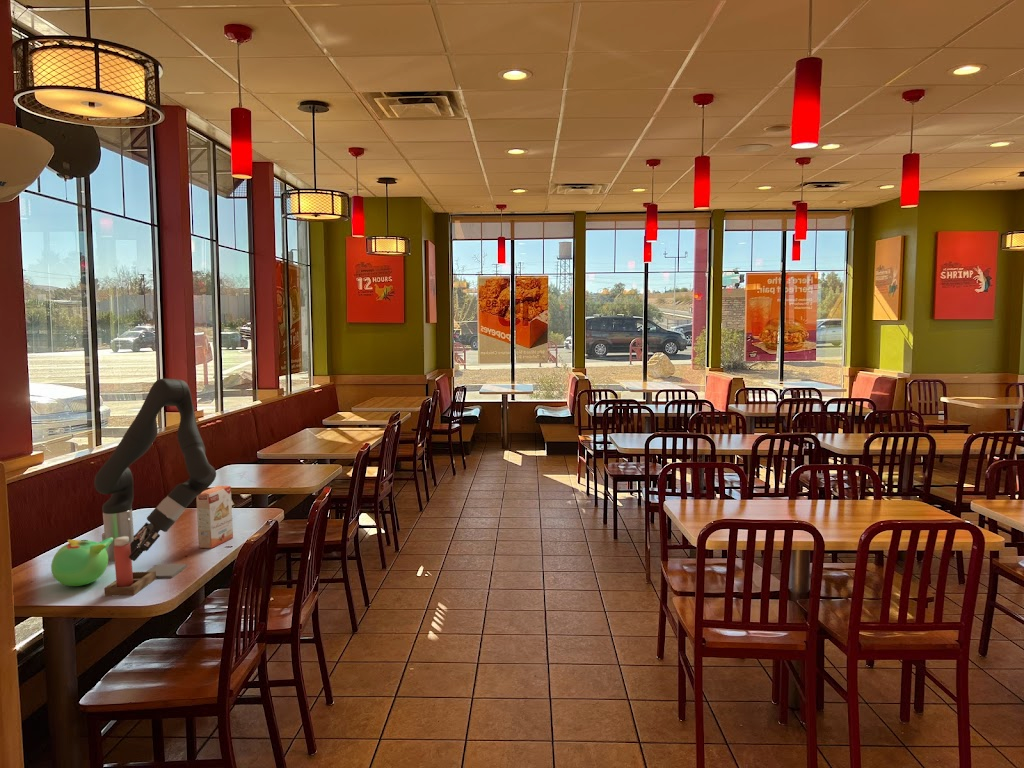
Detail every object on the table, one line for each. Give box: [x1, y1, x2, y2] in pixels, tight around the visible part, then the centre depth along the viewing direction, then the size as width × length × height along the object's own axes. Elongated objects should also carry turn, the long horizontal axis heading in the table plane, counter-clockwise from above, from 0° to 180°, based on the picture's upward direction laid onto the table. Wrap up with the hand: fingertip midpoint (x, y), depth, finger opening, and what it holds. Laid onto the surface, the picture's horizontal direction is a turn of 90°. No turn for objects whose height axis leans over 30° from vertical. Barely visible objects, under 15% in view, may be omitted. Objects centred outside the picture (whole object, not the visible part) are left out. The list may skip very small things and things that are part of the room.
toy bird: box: [50, 537, 113, 587], centre depth 230 cm, size 18×17×15 cm
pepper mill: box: [114, 536, 134, 587], centre depth 221 cm, size 5×5×17 cm
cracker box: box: [195, 485, 234, 549], centre depth 270 cm, size 14×6×21 cm, turn 168°
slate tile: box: [145, 563, 188, 579], centre depth 239 cm, size 11×11×1 cm
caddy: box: [103, 571, 157, 597], centre depth 225 cm, size 14×9×2 cm, turn 1°
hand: (129, 555), depth 222 cm, fingers open, 8 cm apart
